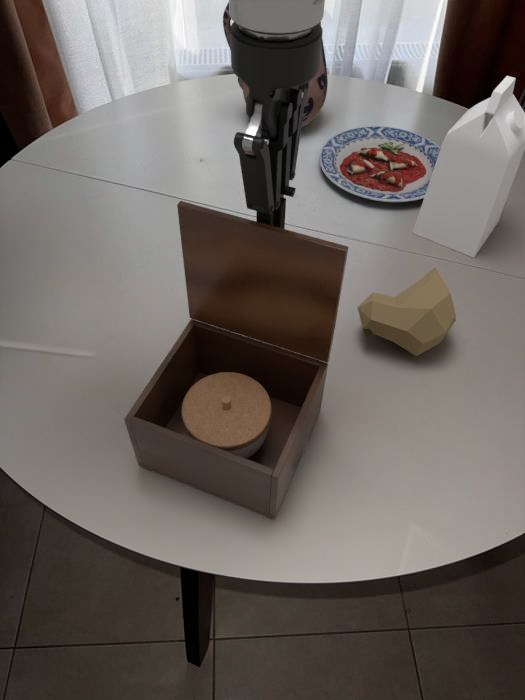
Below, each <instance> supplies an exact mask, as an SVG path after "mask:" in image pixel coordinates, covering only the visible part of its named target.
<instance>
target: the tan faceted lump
mask: <svg viewBox="0 0 525 700" xmlns="http://www.w3.org/2000/svg"><path fill="white" fill-rule="evenodd" d="M357 311H358V316H359V320H360V323H361V328H362V331H363V336H364V339H365V340H367V339H369V338H370V337H371V335H376V336H378V337H380V338H383V339H386V340H388V341H390V342H393V343H395V344H396V345H398V346H399V347H401V348H403V349H404V350H406V351H407V352H409V353H410V354H412V355H413V356H415V357H418V356H419V355H421V354H423V353H425V352H427V351H429V350H430V349H433V348H434V347H436V346H437V345H439V344H441V343H442V341H443V340H444V339H445V337H446V336H447V334H448V333H449V331H450V330H451V328H452V327H453V325H454V324H455V322H456V319H457V315H456V310H455V306H454V303H453V297H452V293H451V291H450V290H449V288H448V286H447V284H446V282H445V280H444V279H443V277H442V276H441V274H440V272H439V270H438V269H437V267H436V266H434V267H433V268H432V269H431V270H429V272H427V273H426V274H425V275H424V276H423V277H422V278H420V279H419V280H418V281H416V282H415V283H413V284H412V285H410V286H409V287H407V288H406V289H404V290H403V291H401V292H400V293H399V294H397V295H396V296H391V295H387V294H383V293H378V292H374V291H373V292H372V293H371V294H370V295H369V296H368V297H366V299H365V300H364V301H362V302H361V303H360V304H359V305H357Z"/></svg>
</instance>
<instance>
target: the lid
mask: <svg viewBox="0 0 525 700" xmlns="http://www.w3.org/2000/svg"><path fill="white" fill-rule="evenodd" d="M176 206H177V207H176V208H177V216H178V224H179V234H180V243H181V244H180V245H181V250H182V251H181V252H182V260H183V270H184V277H185V278H184V279H185V287H186V296H187V306H188V315H189V319H190V320H191V319H193V320H196V321H199V322H202V323H206V324H209V325H212V326H215V327H218V328H221V329H224V330H227V331H230V332H233V333H236V334H239V335H243V336H246V337H249V338H252V339H255V340H258V341H261V342H264V343H267V344H270V345H273V346H276V347H280V348H283V349H286V350H289V351H292V352H295V353H298V354H301V355H304V356H307V357H310V358H313V359H316V360H320V361H322V362H325V363H328V364H329V361H330V358H331V352H332V346H333V341H334V336H335V329H336V323H337V317H338V312H339V305H340V302H341V301H340V299H341V295H342V289H343V282H344V277H345V272H346V271H345V270H346V266H347V259H348V253H349V246H347V245H344V244H341V243H337V242H333V241H329V240H325V239H322V238H318V237H314V236H311V235H307V234H303V233H300V232H297V231H292V230H289V229H286V228H285V229H282V228H278V227H275V226H271V225H267V224H264V223H260V222H256V220H252V219H249V218H245V217H241V216H238V215H234V214H230V213H226V212H223V211H220V210H216V209H212V208H208V207H205V206H202V205H197V204H194V203H190V202H186V201H183V200H179V202H178V203H177V204H176Z"/></svg>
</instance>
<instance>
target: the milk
mask: <svg viewBox="0 0 525 700" xmlns="http://www.w3.org/2000/svg"><path fill="white" fill-rule="evenodd" d="M516 79H517V78H516V77H513V76H510V75H506V76H505V77H504V78H503V80H502V81H500V83H499V84H497V86H496V87H495V88H494V89H493V91H492V93H491V96H490V97H488V98H486V99H483V100H482V101H479V102H478V103H476V104H475V105H473V106H472V107H470V108H469V109H467V110H466V111H465V112H464V114H463V115H462V116H461V117H460V118H459V119H458V120H457V121H456V123H454V124H453V126H452V127H451V128H450V129H449V130H448V131H447V132H446V135H445V137H444V138H443V140H442V144H441V146H440V148H441V149H440V152H439V155H438V158H437V161H436V164H435V167H434V170H433V173H432V176H431V179H430V182H429V185H428V188H427V191H426V194H425V197H424V198H423V200H422V202H421V203H422V204H421V206H420V209H419V211H418V214H417V218H416V221H415V224H414V227H413V230H412V234H415V235H416V236H419V237H421V238H424V239H426V240H428V241H431V242H433V243H435V244H439V245H441V246H443V247H445V248H448V249H451V250H453V251H456V252H458V253H461V254H463V255H465V256H467V257H470V258H472V259H475V258H476V256H477V255H478V253H479V252H480V250H481V249H482V247H483V246H484V244H485V243H486V241H487V240H488V239H489V237H490V235H491V234H492V233H493V231H494V229H495V228H496V227H497V225H498V223H499V222H500V219H501V216H502V214H503V210H504V208H505V205H506V203H507V200H508V197H509V194H510V191H511V188H512V187H513V186H512V185H513V183H514V181H515V178H516V175H517V172H518V169H519V166H520V163H521V162H522V158H523V156H524V152H525V111H524V109H523V107H522V106H521V104H520V103H519V101H518V99H517V98H516V96H515V95H514V89H515V84H516Z"/></svg>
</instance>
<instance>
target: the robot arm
mask: <svg viewBox="0 0 525 700" xmlns="http://www.w3.org/2000/svg"><path fill="white" fill-rule="evenodd" d="M325 1H326V0H228V2H229V14H230V18H231V20H232V22H231V23H232V24H231V28H230V37H231V50H230V66H231V70H232V72H233V73H234V74H235V76H236V77H237V79H238V78H239V79H241V80H242V81H243V82H244V83H245V84H246V85H247V87H248V88H249V93H248V97H247V100H246V102H245V113H246V114H245V115H246V116H247V119H248V125H247V127H246V130H245V132H241V131H240V132H239V131H237V132H236V133H235V135H234V137H233V146H234V148H235V150H236V152H237V154H238V157H239V164H240V171H241V177H242V184H243V190H244V191H243V192H244V197H245V198H244V199H245V204H246V209H248V210H250V211H251V210H252V211H256V217H255V218H256V220H255V221H256V222H260V223H264V224H267V225H271V226H275V227H278V228H282V229H286V227H285V226H286V208H287V198H286V197H291V198H294V197H295V193H296V187H293V186H290V181H293V180H294V179H295V177H296V169H297V160H298V154H299V147H300V140H301V134H302V133H301V132H302V127H301V126H302V119H303V112H304V105H305V101H306V96H307V92H308V88H309V85H310V84H309V81H310V80H312V79H313V78H314V77H315V76H316V74H317V73H318V71H319V67H320V56H321V44H322V39H323V27H322V24H321V25H320V24H319V22H320V21H321V22H322V21H323V18H324V13H325ZM285 196H286V197H285Z"/></svg>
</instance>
